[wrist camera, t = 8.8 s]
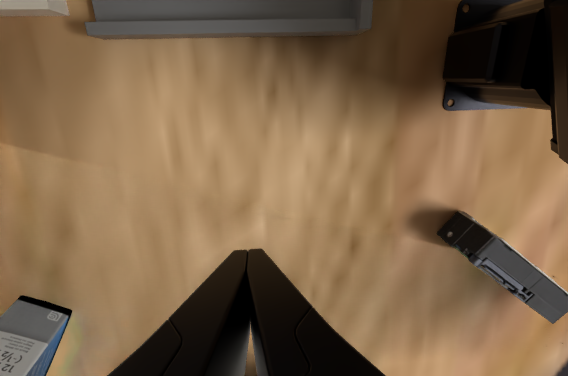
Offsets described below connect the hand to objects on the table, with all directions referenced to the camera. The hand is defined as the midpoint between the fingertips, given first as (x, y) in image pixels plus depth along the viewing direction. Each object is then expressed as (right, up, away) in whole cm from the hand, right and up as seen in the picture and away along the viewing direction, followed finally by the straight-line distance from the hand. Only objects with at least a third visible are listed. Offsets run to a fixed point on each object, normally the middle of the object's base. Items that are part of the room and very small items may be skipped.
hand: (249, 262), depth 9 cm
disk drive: (+17, +1, +26) cm, 31 cm away
